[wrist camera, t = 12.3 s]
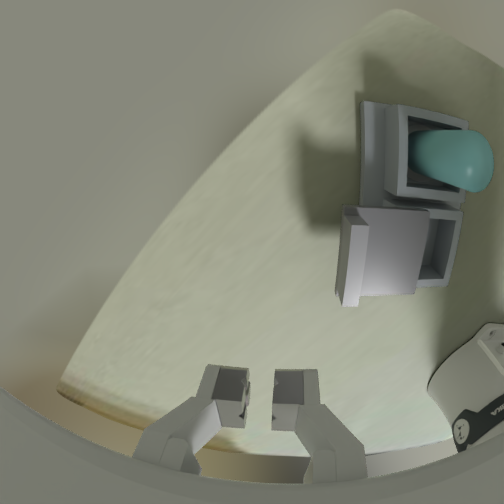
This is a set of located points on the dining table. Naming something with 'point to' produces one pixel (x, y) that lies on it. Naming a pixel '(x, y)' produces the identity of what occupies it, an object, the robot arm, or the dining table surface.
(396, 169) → the housing
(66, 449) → the robot arm
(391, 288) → the slide lid
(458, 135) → the jaw peg
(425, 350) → the dining table surface
